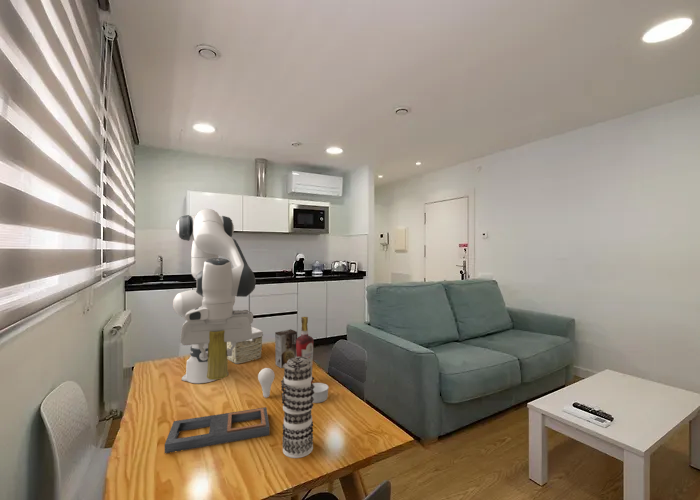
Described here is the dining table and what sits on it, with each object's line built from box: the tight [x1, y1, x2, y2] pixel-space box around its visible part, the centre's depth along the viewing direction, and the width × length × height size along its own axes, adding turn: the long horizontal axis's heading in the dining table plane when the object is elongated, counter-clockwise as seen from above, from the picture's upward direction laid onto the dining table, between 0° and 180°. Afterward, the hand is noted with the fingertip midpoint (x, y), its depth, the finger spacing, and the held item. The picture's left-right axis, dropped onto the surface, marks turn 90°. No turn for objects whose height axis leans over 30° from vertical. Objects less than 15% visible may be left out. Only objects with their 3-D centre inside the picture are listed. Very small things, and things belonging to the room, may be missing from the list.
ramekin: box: [312, 382, 330, 404], centre depth 122 cm, size 9×9×4 cm
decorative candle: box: [280, 357, 315, 459], centre depth 91 cm, size 9×9×25 cm
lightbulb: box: [257, 367, 275, 399], centre depth 123 cm, size 6×6×11 cm
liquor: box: [296, 316, 314, 383], centre depth 135 cm, size 7×7×28 cm
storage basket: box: [227, 326, 264, 365], centre depth 172 cm, size 24×16×15 cm
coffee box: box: [274, 328, 298, 369], centre depth 159 cm, size 9×6×16 cm
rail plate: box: [164, 406, 270, 454], centre depth 100 cm, size 13×28×3 cm, turn 109°
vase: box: [207, 330, 229, 381], centre depth 99 cm, size 6×6×14 cm
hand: (217, 356), depth 99 cm, fingers closed on vase, 5 cm apart
